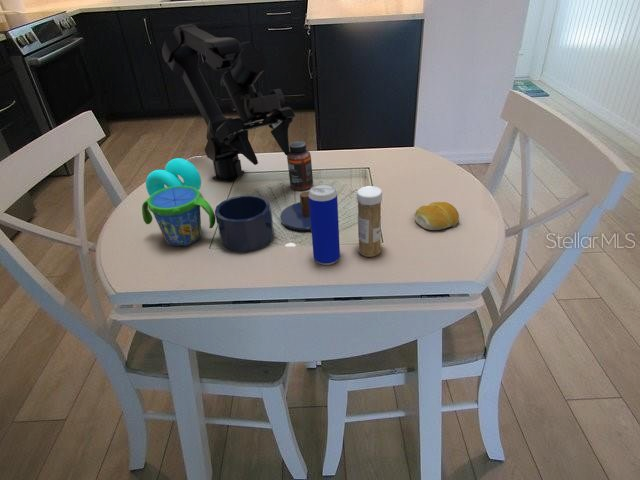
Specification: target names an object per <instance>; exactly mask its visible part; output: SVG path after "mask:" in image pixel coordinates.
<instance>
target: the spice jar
mask: <svg viewBox="0 0 640 480" xmlns="http://www.w3.org/2000/svg"><path fill="white" fill-rule="evenodd" d="M382 200H383V191H382V189H381V188H379V187H378V186H375V185H374V186H373V185H366V186H362V187H359V188H358V189H357V191H356V201H357V235H358V236H357V237H358V249H357V250H358V253H359V254H360V255H361V256H363V257H367V258H372V257H376V256H378V255H380V254H381V252H382V248H381V238H382V216H381V212H382V211H381V210H382V207H381V206H382V205H381V204H382Z"/></svg>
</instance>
